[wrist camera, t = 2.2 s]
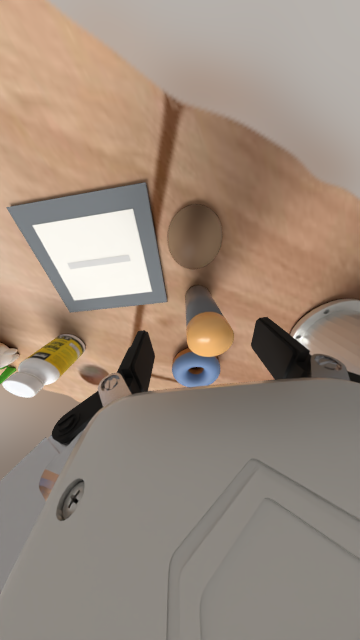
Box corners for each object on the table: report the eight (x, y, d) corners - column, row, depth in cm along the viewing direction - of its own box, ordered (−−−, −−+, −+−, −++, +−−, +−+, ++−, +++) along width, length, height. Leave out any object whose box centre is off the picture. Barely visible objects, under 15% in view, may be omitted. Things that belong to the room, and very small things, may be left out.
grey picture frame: (146, 184, 14) (145, 181, 14) (167, 300, 21) (166, 302, 21) (11, 208, 16) (4, 207, 15) (72, 311, 22) (69, 312, 22)
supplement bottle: (76, 330, 25) (19, 375, 16) (91, 351, 27) (49, 398, 19) (51, 335, 25) (-15, 380, 17) (69, 354, 28) (19, 402, 19)
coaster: (222, 201, 15) (223, 199, 14) (220, 265, 18) (221, 265, 18) (163, 210, 15) (162, 209, 15) (172, 271, 19) (171, 272, 18)
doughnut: (196, 383, 32) (199, 401, 27) (163, 363, 29) (161, 380, 25) (225, 357, 28) (234, 373, 24) (191, 333, 26) (194, 346, 22)
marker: (210, 283, 20) (236, 317, 10) (210, 307, 22) (232, 355, 12) (183, 286, 20) (184, 322, 10) (186, 310, 22) (189, 358, 12)
